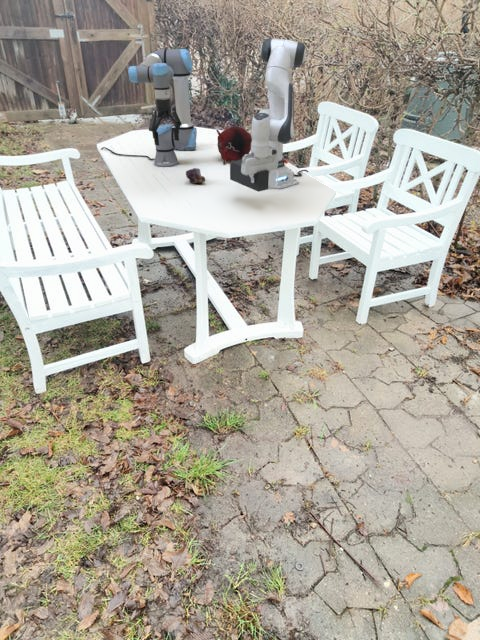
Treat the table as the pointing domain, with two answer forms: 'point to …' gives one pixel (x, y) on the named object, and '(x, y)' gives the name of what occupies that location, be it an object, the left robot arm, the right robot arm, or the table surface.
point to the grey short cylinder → (186, 148)
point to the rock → (195, 176)
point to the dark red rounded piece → (234, 143)
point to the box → (245, 180)
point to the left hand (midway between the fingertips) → (167, 142)
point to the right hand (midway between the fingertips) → (259, 181)
